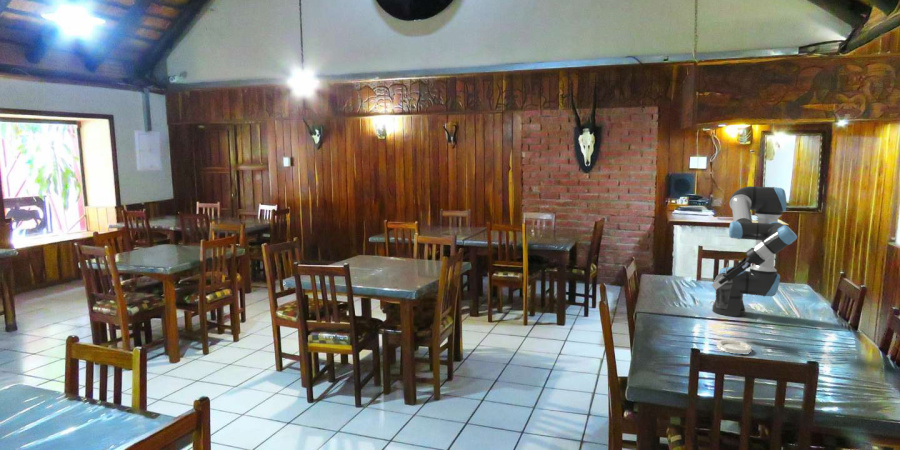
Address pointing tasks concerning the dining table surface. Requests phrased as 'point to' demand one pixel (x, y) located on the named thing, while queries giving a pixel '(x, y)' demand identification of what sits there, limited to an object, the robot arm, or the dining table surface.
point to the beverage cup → (723, 292)
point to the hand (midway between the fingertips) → (714, 285)
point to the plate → (733, 346)
